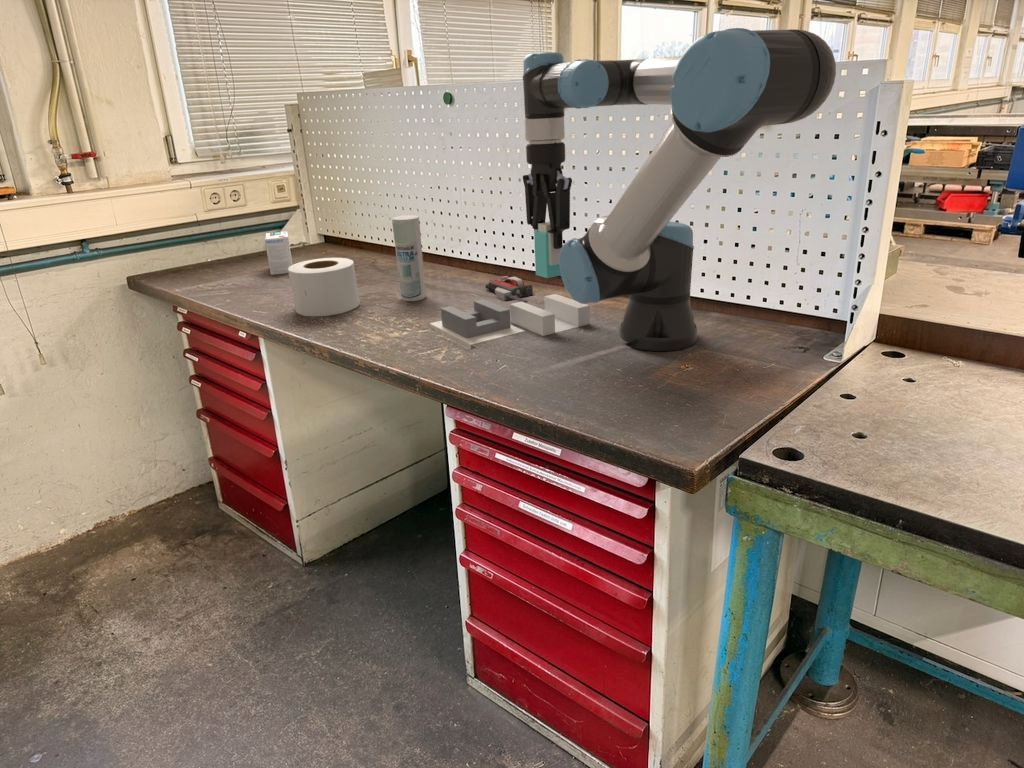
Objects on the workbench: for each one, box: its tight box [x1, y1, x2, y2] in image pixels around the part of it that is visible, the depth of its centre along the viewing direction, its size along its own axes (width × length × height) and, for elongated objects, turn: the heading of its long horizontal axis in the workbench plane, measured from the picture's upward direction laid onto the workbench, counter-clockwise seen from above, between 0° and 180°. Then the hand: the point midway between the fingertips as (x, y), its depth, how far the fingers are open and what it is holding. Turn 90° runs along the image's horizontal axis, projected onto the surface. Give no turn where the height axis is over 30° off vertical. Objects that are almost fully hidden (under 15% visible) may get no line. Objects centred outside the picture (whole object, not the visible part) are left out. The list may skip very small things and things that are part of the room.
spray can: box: [391, 214, 427, 302], centre depth 170 cm, size 6×6×20 cm
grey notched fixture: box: [429, 298, 525, 350], centre depth 146 cm, size 18×13×5 cm
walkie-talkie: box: [484, 275, 534, 303], centre depth 171 cm, size 9×4×20 cm
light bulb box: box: [264, 230, 294, 276], centre depth 209 cm, size 11×7×11 cm, turn 17°
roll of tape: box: [288, 257, 361, 317], centre depth 168 cm, size 16×15×11 cm
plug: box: [533, 221, 561, 279], centre depth 141 cm, size 4×4×10 cm
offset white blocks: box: [509, 293, 591, 337], centre depth 146 cm, size 12×12×5 cm
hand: (548, 262), depth 142 cm, fingers closed on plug, 4 cm apart
